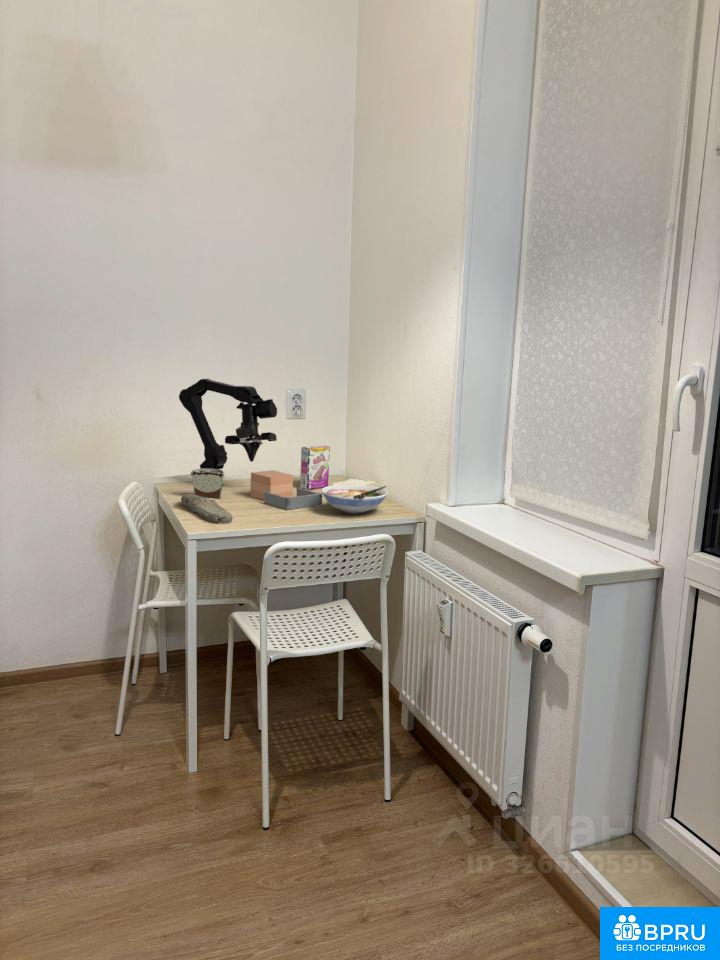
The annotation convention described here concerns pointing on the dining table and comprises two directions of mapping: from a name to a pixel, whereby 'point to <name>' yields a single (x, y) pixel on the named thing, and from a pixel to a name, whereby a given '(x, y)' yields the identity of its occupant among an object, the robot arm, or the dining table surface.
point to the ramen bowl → (354, 497)
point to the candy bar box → (314, 467)
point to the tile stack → (271, 484)
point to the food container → (207, 482)
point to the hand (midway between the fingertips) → (251, 461)
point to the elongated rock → (206, 508)
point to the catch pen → (294, 499)
